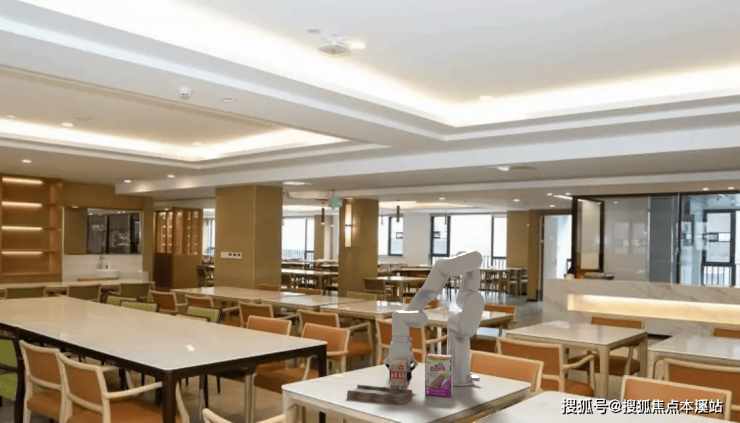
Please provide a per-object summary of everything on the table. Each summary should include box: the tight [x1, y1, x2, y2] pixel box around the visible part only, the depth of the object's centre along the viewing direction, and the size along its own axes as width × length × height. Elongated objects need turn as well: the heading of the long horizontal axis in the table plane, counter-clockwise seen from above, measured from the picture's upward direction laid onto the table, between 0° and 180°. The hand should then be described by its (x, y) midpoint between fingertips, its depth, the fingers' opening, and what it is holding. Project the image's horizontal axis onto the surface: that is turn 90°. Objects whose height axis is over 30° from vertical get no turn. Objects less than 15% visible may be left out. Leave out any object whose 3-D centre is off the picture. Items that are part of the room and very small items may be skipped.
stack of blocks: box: [390, 360, 411, 389], centre depth 264 cm, size 21×6×12 cm, turn 171°
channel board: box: [346, 384, 413, 406], centre depth 246 cm, size 24×12×3 cm, turn 68°
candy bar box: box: [424, 353, 454, 398], centre depth 251 cm, size 11×5×16 cm, turn 71°
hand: (400, 379), depth 264 cm, fingers closed on stack of blocks, 7 cm apart
